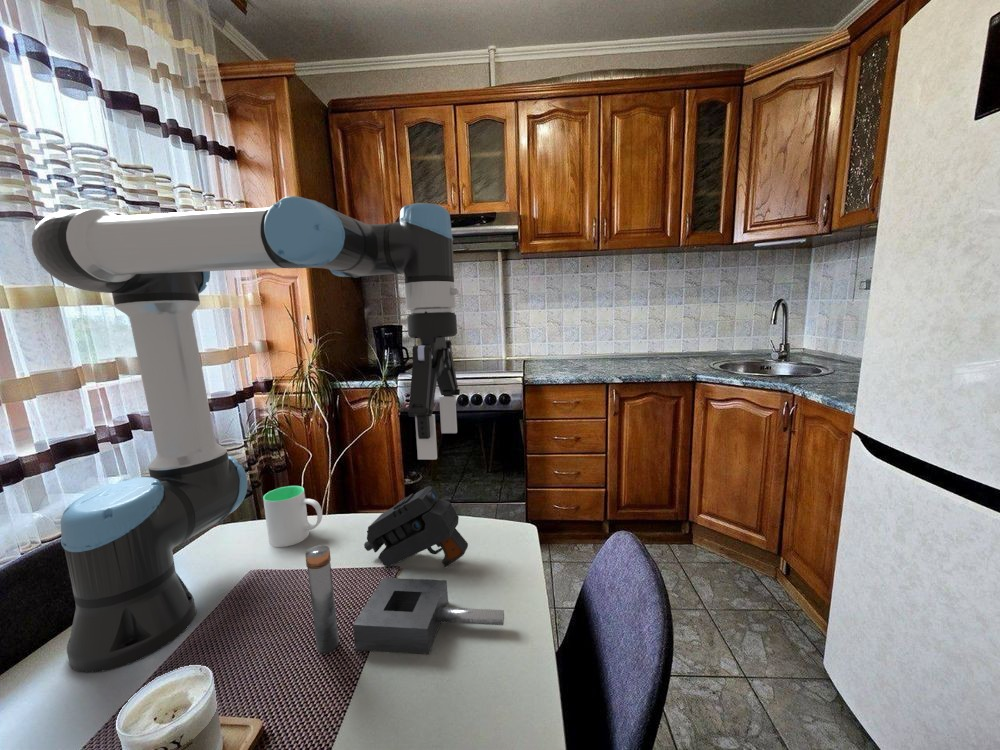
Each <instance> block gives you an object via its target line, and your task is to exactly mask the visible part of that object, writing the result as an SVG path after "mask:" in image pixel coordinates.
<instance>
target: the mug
mask: <svg viewBox="0 0 1000 750" xmlns="http://www.w3.org/2000/svg"><path fill="white" fill-rule="evenodd" d="M262 498H263V499H262V501H263V506H264V514H265V523H266V530H267V538H268V544H269V546H271V547H273V548H287V547H290V546H294V545H297V544H299V543H301V542H303V541H304V540H306V539H307V538H308V536H310V531H311V530H314V529H316V528H317V527H318V526H319V525H320V524H321V522H322V519H323V509H322V507H321V505H320V503H319V502H318V501H317V500H316V499H313V498H307V497H306V494H305V488H304V487H303V486H300V485H288V486H281V487H277V488H275V489H273V490H269V491H268V492H267V493H265V494H264V495H263V497H262ZM307 505H310V506H312V507H313V508H314V509H315V513H316V515H317V517H316V523H314V524H311V523H310V522H309V520H308V512H307V511H308V510H307Z"/></svg>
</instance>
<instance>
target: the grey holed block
mask: <svg viewBox="0 0 1000 750" xmlns="http://www.w3.org/2000/svg"><path fill="white" fill-rule="evenodd" d="M448 593H449V592H448V580H447V579H424V578H423V579H422V578H399V577H397V578H396V577H383V578H382V579H381V580H380V582H379V584H378V585H377V587H376V588H375V589H374V591H373V592H372V595H371V596H370V597H369V599H368V601H367V602H366V604H365V605H364V606H363V608H362V610H361V612H360V613H359V615H358V616H357V618H356V619H355V621H354V623H352V630H353V631H352V632H353V639H354V640H353V641H354V649H355V651H368V652H382V653H395V654H396V653H398V654H411V655H426V656H427V655H429V656H430V653H431V651H432V647H433V645H434V642H435V640H436V637H437V634H438V631H439V629H440V626H441V624H442V623H446V624H447V623H451V624H469V625H470V624H471V625H485V626H486V625H490V626H504V623H505V610H504V609H490V608H489V609H486V608H485V609H484V608H467V607H466V608H465V607H448V605H449V594H448Z"/></svg>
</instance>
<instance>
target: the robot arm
mask: <svg viewBox="0 0 1000 750" xmlns="http://www.w3.org/2000/svg"><path fill="white" fill-rule="evenodd" d="M399 212H400V213H399V220H398V221H395V222H389V223H379V224H378V223H374V224H367V223H364V222H363V221H360V220H357V219H355V218H353V217H351V216H348V215H346V214H343V213H341V212H339V211H337V210H335V209H333V208H331V207H328V206H327V205H326V204H324V203H323V202H318V201H317V200H314V199H311V198H309V199H308V198H305V197H301V196H297V195H296V196H285V197H282V198H281V199H280V200H278V201H277V202H276V203H274V204H273V205H271V206H270V207H257V208H256V207H255V208H235V209H219V210H218V209H217V210H202V211H198V210H197V211H186V212H184V211H183V212H182V211H181V212H168V213H167V212H166V213H165V212H164V213H163V212H162V213H151V214H150V213H149V214H148V213H147V214H130V215H128V214H127V215H117V214H116V213H113V212H111V211H108V210H105V209H100V208H99V209H98V208H91V209H89V208H87V209H70V210H69V209H68V210H61V211H57V212H54V213H51V214H49V215H47V216H45V217H44V218H43V219H41V220H40V221H39V222H38V223H37V224H36V226H35V227H34V229H33V232H32V235H31V247H32V251H33V254H34V256H35V258H36V261H37V262H38V263H39V264H40V265H41V267H42V268H43V270H45V271H46V272H47V273H48V274H49V275H50V276H52V277H53V278H54V279H56V280H58V281H60V282H61V283H63V284H65V285H67V286H70V287H73V288H75V289H79V290H83V291H87V292H95V293H104V294H105V293H107V294H111V295H112V299H113V304H114V305H113V306H114V307H115V309H117V310H118V311H120V312H122V314H125V315H126V316H127V317H128V318H129V321H130V327H131V333H132V337H133V341H134V347H135V351H136V356H137V357H136V358H137V362H138V366H139V370H140V376H141V380H142V387H143V391H144V396H145V400H146V406H147V409H148V410H147V411H148V414H149V420H150V425H151V429H152V435H153V439H154V445H155V450H156V453H157V454H156V456H155V457H154V458H153V460H152V461H150V463H149V464H148V466H147V467H148V472H149V476H141V477H132V478H128V479H122V480H121V481H118V482H117V483H110V484H109V483H108V484H107V485H104V486H101V487H99V488H96V489H94V490H92V491H90V492H88V493H86V494H84V495H82V496H80V497H79V498H77V499H75V500H74V501H73V502H72V503H71V504H70V505H68V506H67V507H66V509H65V510H64V511H63V513H62V515H61V518H60V533H61V534H60V535H61V538H60V544H61V547H62V548H63V550H64V553H65V558H66V563H67V568H68V574H69V578H70V584H71V588H72V593H73V597H74V602H75V611H74V616H73V621H72V625H71V631H70V637H69V639H68V642H67V645H66V653H67V660H68V664H69V666H70V668H71V669H72V670H74V671H76V672H79V673H86V674H89V673H101V672H106V671H111V670H115V669H118V668H122V667H123V666H124V667H125V666H127V665H130V664H133V663H134V662H137V661H140V660H142V659H144V658H146V657H148V656H149V655H152V654H154V653H156V652H157V651H159V650H161V649H162V648H164V647H166V646H167V645H169V644H170V643H172V642H173V641H174V640H175V639H177V638H178V637H179V636H180V635H182V634H183V633H184V632H185V631H186V630H187V629H188V628H189V626H190V625H191V624H192V623H193V621H194V619H195V616H196V614H197V611H196V603H195V598H194V595H192V593H191V592H190V591H189V588H188V587H187V585H186V583H185V582H184V581H183V580H182V578H181V577H180V576H179V574H178V573H177V571H176V566H175V560H174V553H173V550H174V549H175V547H178V546H179V545H181V544H183V543H185V542H186V541H188V540H189V539H191V538H193V537H194V536H196V535H198V534H199V533H201V532H203V531H205V530H206V529H208V528H210V527H212V526H214V525H215V524H218V523H220V522H222V521H223V520H224V519H226V518H227V517H228V516H229V515H230V514H232V513H233V512H234V511H236V510H237V509H238V508H239V507H240V505H241V504H242V503H243V501H244V499H245V497H246V496H247V495H246V494H247V491H248V477H247V473H246V471H245V468H244V467H243V465H241V464H239V461H238V460H237V459H236V458H235V457H233V456H230V455H229V454H228V453H229V452H228V450H227V448H226V447H224V446H222V445H220V444H219V443H217V442H216V437H215V434H214V432H215V431H214V425H213V422H212V416H211V411H210V406H209V405H210V404H209V399H208V393H207V389H206V384H205V378H204V372H203V367H202V362H201V361H202V360H201V355H200V351H199V346H198V341H197V340H198V339H197V336H196V329H195V323H194V319H193V314H194V311H195V310H196V309H197V308H198V307H199V306H200V305H201V301H200V296H199V295H200V294H201V293H203V292H204V291H205V290H206V288H207V286H208V285H207V283H209V282H210V277H211V272H223V271H246V270H249V271H250V270H267V269H268V270H269V269H313V268H314V269H325V270H329V271H330V272H331V274H332V275H334V276H335V277H336V276H337V277H342V278H346V277H349V278H360V277H368V276H382V275H394V274H395V275H402V274H403V275H404V294H405V309H406V310H408V311H410V312H409V313H408V314H407V315H408V316H407V317H406V319H407V334H408V337H409V338H412V339H419V340H420V342H419V343H420V345H413V346H412V368H411V369H412V370H411V380H410V391H409V400H408V401H409V404H408V410H407V415H408V417H414V421H415V438H416V450H417V460H430V461H431V460H437V459H438V446H437V445H438V444H437V430H436V414H435V413H434V414H433V409H434V402H435V396H436V389H437V386H438V389H439V392H440V393H439V394H440V396H438V401H439V413H440V414H439V416H440V431H441V434H457V433H458V420H457V419H458V418H457V404H456V402H457V401H456V400H457V399H456V396H460V395H461V394H460V393H461V389H460V388H459V385H458V380H457V374H456V367H455V362H454V357H453V352H452V351H453V349H452V348H453V347H452V341H451V339H446V338H450V337H451V338H452V337H455V336H457V333H458V327H457V326H458V321H457V314H456V313H455V312H452V309H455V308H456V296H457V295H458V294H459V289H458V288H456V287H455V275H454V273H455V272H454V270H455V268H454V246H453V245H454V244H453V243H454V242H453V241H454V236H453V233H452V232H453V231H452V222H451V215H450V212H449V211H448V209H447V208H446V207H444V206H442V205H440V204H436V203H429V202H428V203H427V202H418V203H412V204H407V205H404V206H403V207H401V208H400V211H399Z"/></svg>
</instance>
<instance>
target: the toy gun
mask: <svg viewBox="0 0 1000 750" xmlns="http://www.w3.org/2000/svg"><path fill="white" fill-rule="evenodd" d="M459 519H460V516H459V514H458V513H457V512H456V509H455V508H454V506H453V504H452V503H451V501H447V500H444V499H443V498H442V499H441V498H439V495H438V494H437V493H436V490H435V489H434V487H432V486H430V485H429V486H428V485H427V486H425V487H424V488H423V489H421V490H419V491H417V492H416V493H415V494H414V493H411V494H409V495H408V496H406V497H404V498H403V499H401V500H399V502H397V503H396V504H395V505H394V506H392V507H391V508H389V509H388V510H386V511H384V512H382V513H381V514H380V515H379V516H378V517H377V518H376V519H375V520H374V521H373V522H372V523H371V524H370V525H368V527H367V530H366V532H367V534H366V541H365V542H364V544H363V547H364V549H365V550H366V551H367V552H368V551H371V550H373V551H374V553H377V552H378V551H379V550H380V549H381V548H382V546H383V545H384V546H385V547H384V549H383V550H382V551H381V552H380V553H379V554H378V560H379V561H380V562H381V563H382V565H383V566H385V567H388V568H390V567H392V566H394V565H396V564H398V563H400V562H402V561H405V560H407V559H408V558H411V557H412V556H414V555H416V554H417V555H418V554H419V553H421V552H423V551H426V550H427V551H428V552H429V553H430V554H431V555H437V554H439V553H440V552H441V551H443V554H444V557H443V559H442V560H441V564H442V566H443V568H446V569H447V568H448V567H449V566H450V565H451V566H452V564H453V563H455V562H456V561H458V560H459V559H460V558H461V557H463V556H464V555H465V553H466V551H467V549H468V546H469V543H468V541H466V540H465V538H464V536H462V534H461V533H460V532H459V531H458V529H457V526H458V525H459ZM435 545H436V546H437V548H438V549H436V550H435V549H433V548H432V547H434V546H435Z"/></svg>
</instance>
